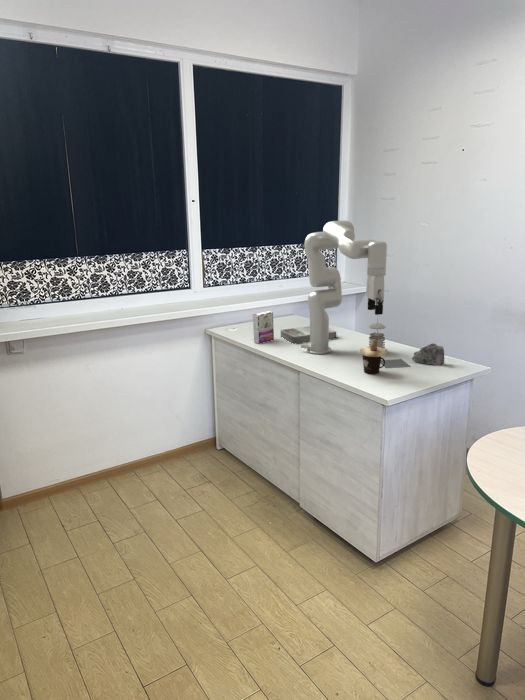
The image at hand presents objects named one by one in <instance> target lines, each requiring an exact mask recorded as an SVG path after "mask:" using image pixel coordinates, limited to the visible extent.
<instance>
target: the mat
mask: <svg viewBox="0 0 525 700" xmlns="http://www.w3.org/2000/svg"><path fill="white" fill-rule="evenodd" d="M384 360H385V365H384V366H383V368H385V369H394V368H397V369H398V368H410V367H412V365H410V364H409V363H407V362H406V361H404V360H403V359H402V358H399V359H398V358H394V359H384ZM383 364H384V361H383V360H382V359H381V363H380V365H381V366H382V365H383Z"/></svg>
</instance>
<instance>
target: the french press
mask: <svg viewBox="0 0 525 700" xmlns="http://www.w3.org/2000/svg"><path fill="white" fill-rule="evenodd" d="M376 320H377V322H376V323H372V324H370V325H369V326H368V327H369V328H370V329H371V330H376V332H371V333H369V337H368V347H371V340H373V339H374V340H377V347H382V348H385V349H386V347H385V346H386V344H385V343H386V337H385V334H384V333H382V332H379V331H378V330H383V329H386V325H384V324H382V323H379V319H376Z"/></svg>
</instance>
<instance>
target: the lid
mask: <svg viewBox="0 0 525 700" xmlns="http://www.w3.org/2000/svg"><path fill="white" fill-rule="evenodd" d="M359 354H360V355H362V356H363V355H364V356H369V357H382V358H383V357H386V356H388V355H389V350H388V349H387V348H386V347H385V348H382V347H377V340H374V339H373V340H371V347H369V346H364V347H361V348H360V349H359Z"/></svg>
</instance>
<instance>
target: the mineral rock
mask: <svg viewBox="0 0 525 700" xmlns="http://www.w3.org/2000/svg"><path fill="white" fill-rule="evenodd" d="M411 359H412V361H414V362H416V363H419V364H424V365H432V366H433V365H434V366H443V364H445V349H444V346H442V345H437V344H436V343H434V342H433V343H430V344H427V345H426V346H424V347H421V348H420V349H419V350H417V351H414V353H413V356H412V358H411Z"/></svg>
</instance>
